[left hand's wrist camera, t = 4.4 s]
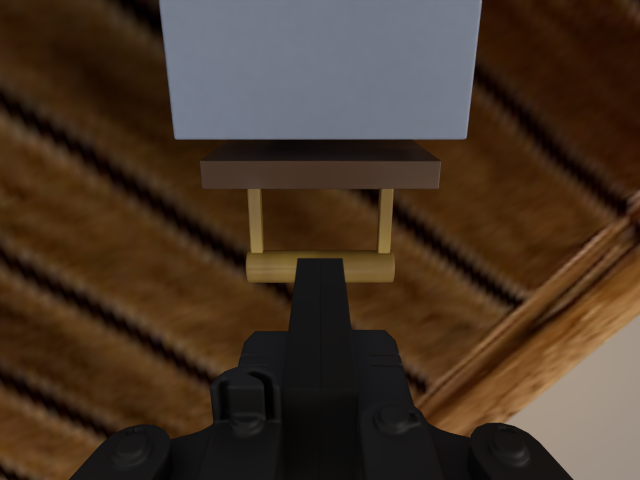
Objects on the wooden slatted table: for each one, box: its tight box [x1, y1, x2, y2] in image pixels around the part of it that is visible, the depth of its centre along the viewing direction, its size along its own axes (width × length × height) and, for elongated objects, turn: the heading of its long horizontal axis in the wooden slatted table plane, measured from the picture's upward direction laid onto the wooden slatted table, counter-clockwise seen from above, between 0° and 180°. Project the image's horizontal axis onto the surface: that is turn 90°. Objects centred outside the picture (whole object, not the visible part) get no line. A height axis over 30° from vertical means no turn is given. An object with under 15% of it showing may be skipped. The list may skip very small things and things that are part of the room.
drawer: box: [200, 139, 441, 282], centre depth 20 cm, size 21×10×7 cm, turn 0°
